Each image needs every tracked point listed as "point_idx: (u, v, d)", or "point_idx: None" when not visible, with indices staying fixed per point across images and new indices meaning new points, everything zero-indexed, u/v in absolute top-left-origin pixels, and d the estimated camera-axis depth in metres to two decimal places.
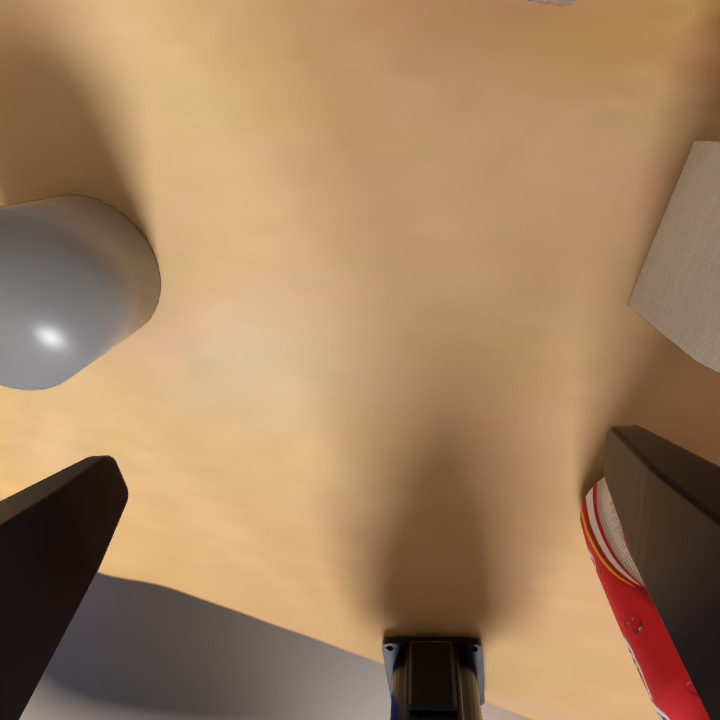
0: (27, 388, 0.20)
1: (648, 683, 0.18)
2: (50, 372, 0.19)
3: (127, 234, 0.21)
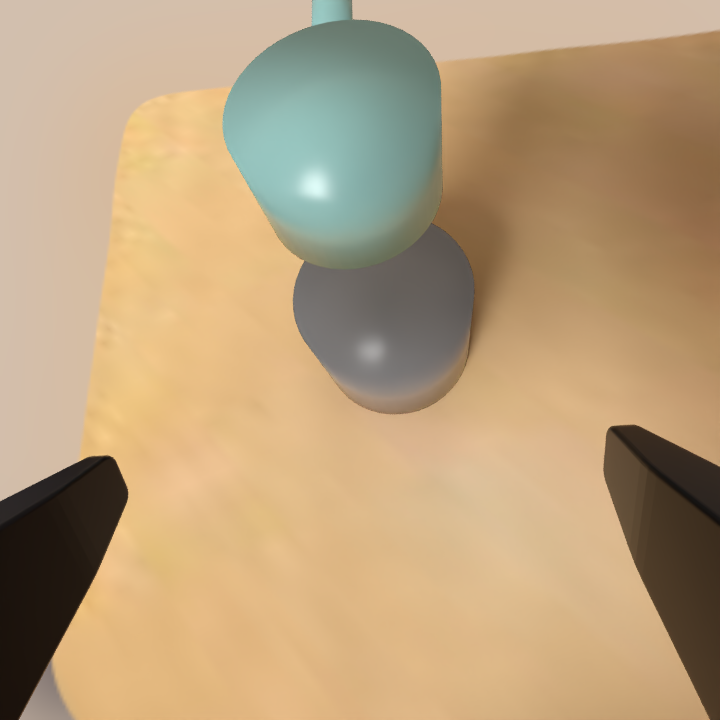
0: (331, 366, 0.18)
1: None
2: (373, 362, 0.18)
3: None
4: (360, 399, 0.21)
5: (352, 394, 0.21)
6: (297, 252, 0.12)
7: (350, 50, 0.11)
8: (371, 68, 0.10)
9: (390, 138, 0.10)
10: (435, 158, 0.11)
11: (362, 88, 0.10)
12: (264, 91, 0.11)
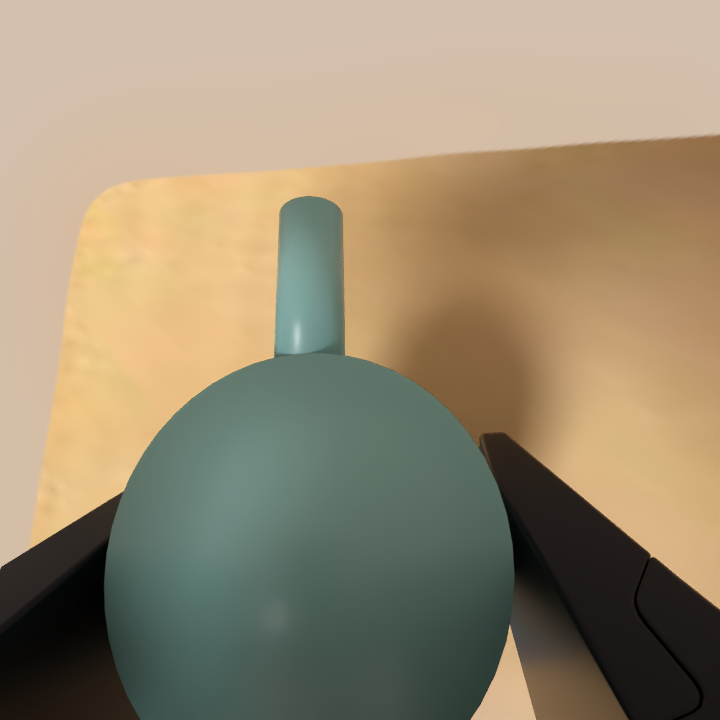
0: None
1: None
2: None
3: None
4: None
5: None
6: None
7: (339, 429, 0.06)
8: (378, 481, 0.06)
9: (418, 684, 0.05)
10: None
11: (360, 530, 0.05)
12: (183, 502, 0.06)
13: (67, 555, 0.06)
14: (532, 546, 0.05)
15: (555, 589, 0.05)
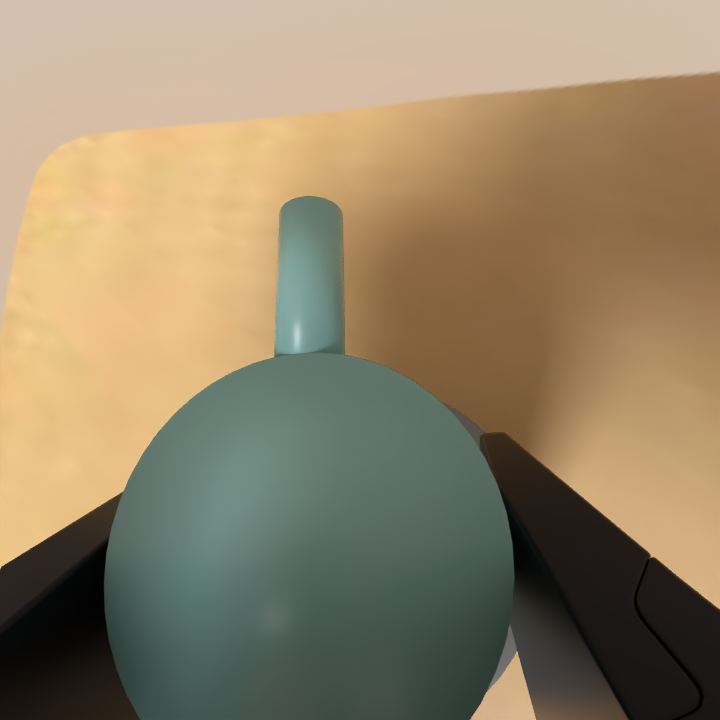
0: None
1: None
2: None
3: None
4: None
5: None
6: None
7: (339, 429, 0.06)
8: (379, 480, 0.06)
9: (417, 683, 0.05)
10: None
11: (361, 530, 0.05)
12: (183, 501, 0.06)
13: (67, 555, 0.06)
14: (532, 546, 0.05)
15: (555, 589, 0.05)
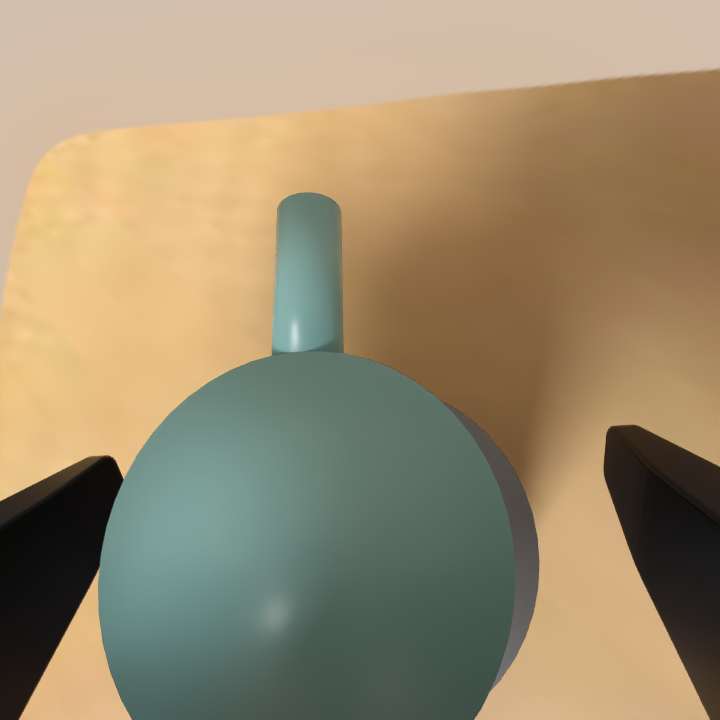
0: None
1: None
2: None
3: None
4: None
5: None
6: None
7: (337, 428, 0.06)
8: (378, 481, 0.06)
9: (417, 687, 0.05)
10: None
11: (360, 531, 0.05)
12: (178, 502, 0.06)
13: None
14: None
15: None
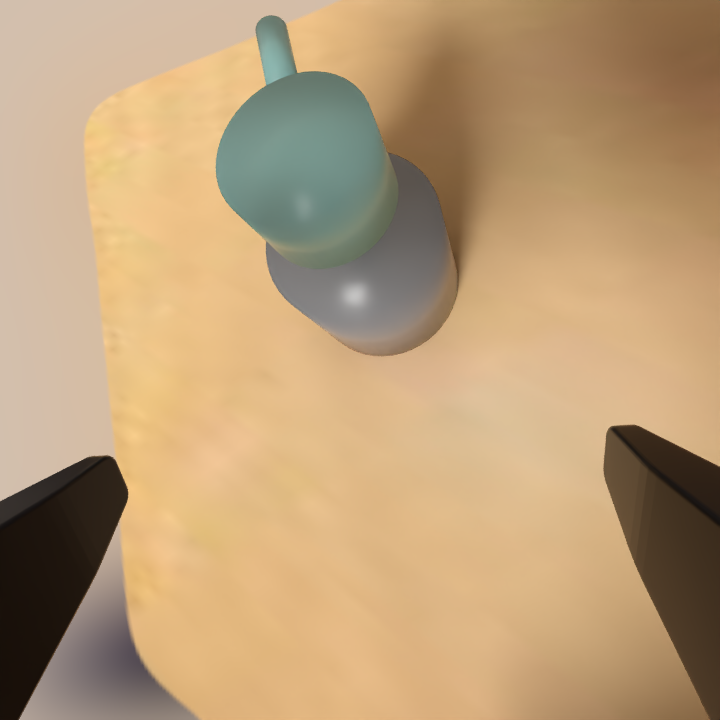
0: (315, 317, 0.18)
1: None
2: (355, 304, 0.18)
3: None
4: (358, 346, 0.22)
5: (349, 343, 0.21)
6: (295, 262, 0.16)
7: (299, 100, 0.14)
8: (318, 111, 0.13)
9: (343, 167, 0.13)
10: (382, 169, 0.14)
11: (314, 130, 0.13)
12: (242, 148, 0.14)
13: None
14: None
15: None
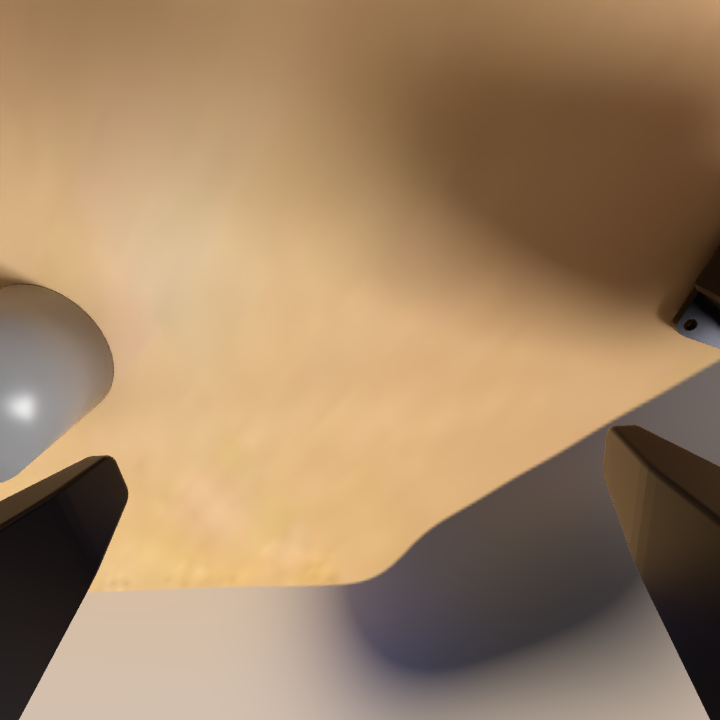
0: (32, 450, 0.19)
1: None
2: (14, 417, 0.19)
3: None
4: (93, 392, 0.23)
5: (88, 401, 0.22)
6: None
7: None
8: None
9: None
10: None
11: None
12: None
13: None
14: None
15: None
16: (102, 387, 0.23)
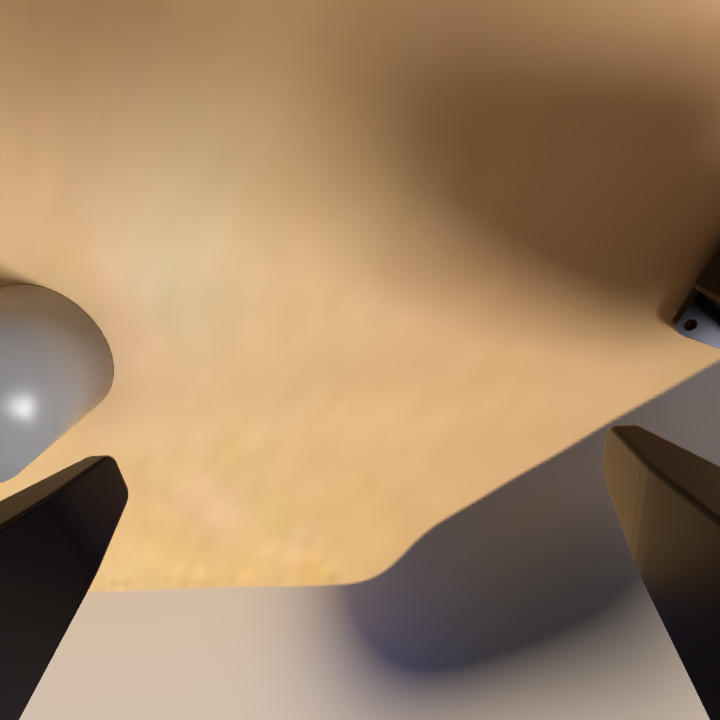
0: (32, 450, 0.19)
1: None
2: (14, 417, 0.19)
3: None
4: (93, 392, 0.23)
5: (88, 401, 0.22)
6: None
7: None
8: None
9: None
10: None
11: None
12: None
13: None
14: None
15: None
16: (102, 387, 0.23)
